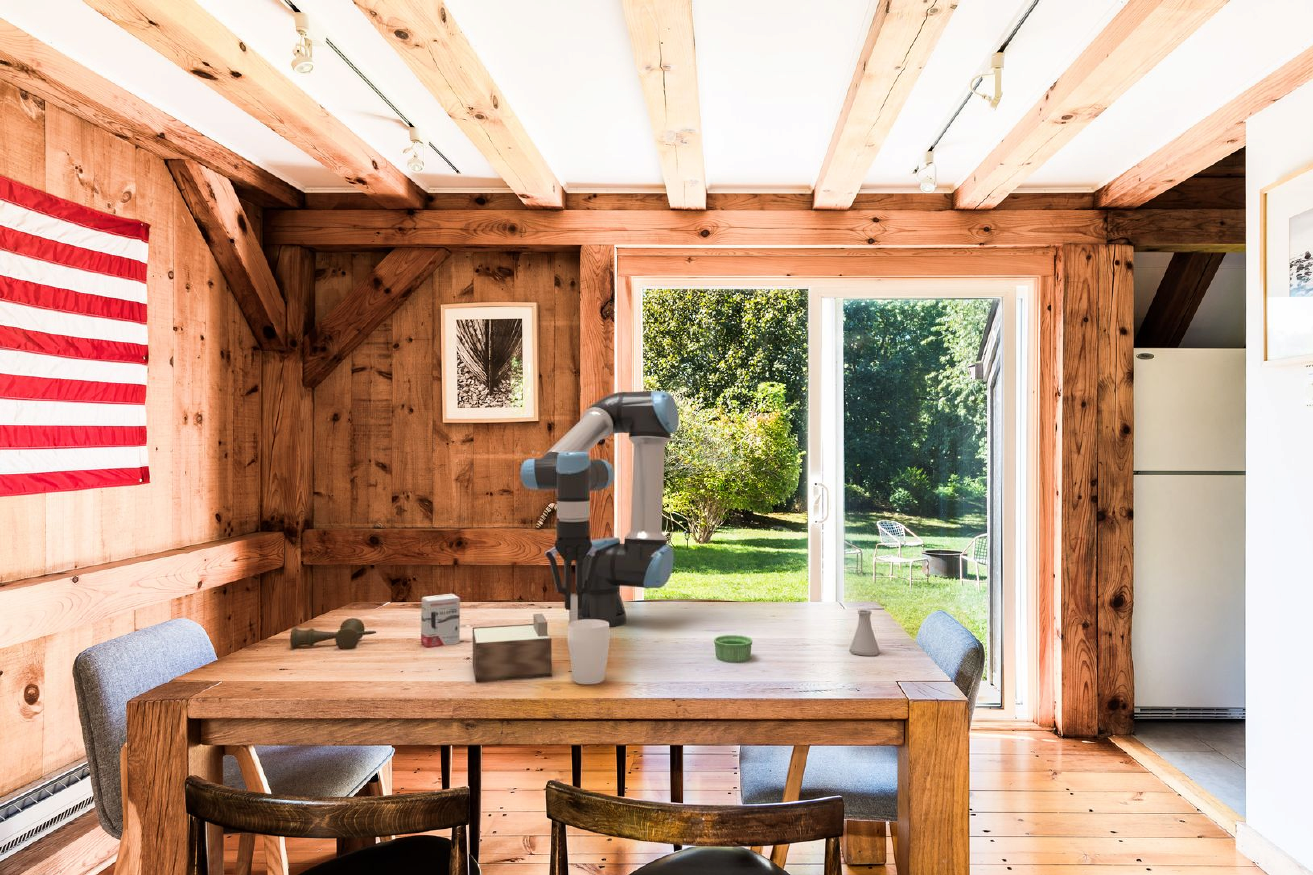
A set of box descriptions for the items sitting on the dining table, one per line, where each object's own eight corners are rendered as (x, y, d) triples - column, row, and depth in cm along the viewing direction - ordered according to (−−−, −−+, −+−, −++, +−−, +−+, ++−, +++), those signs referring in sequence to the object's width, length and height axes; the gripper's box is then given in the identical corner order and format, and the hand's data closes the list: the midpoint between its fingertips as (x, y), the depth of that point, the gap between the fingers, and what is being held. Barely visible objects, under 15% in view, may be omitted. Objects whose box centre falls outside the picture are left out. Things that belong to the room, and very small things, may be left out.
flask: (881, 650, 196) (881, 609, 196) (879, 658, 190) (879, 615, 190) (850, 647, 199) (850, 607, 199) (847, 655, 192) (847, 613, 192)
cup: (567, 674, 176) (567, 619, 176) (609, 673, 177) (609, 618, 177) (566, 687, 167) (566, 629, 167) (610, 686, 168) (610, 628, 168)
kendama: (295, 645, 204) (379, 638, 209) (287, 656, 195) (374, 649, 199) (295, 621, 204) (378, 615, 208) (286, 631, 195) (373, 625, 199)
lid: (542, 628, 189) (542, 611, 189) (550, 641, 176) (550, 624, 176) (473, 632, 185) (473, 615, 185) (476, 646, 172) (476, 628, 172)
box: (542, 658, 190) (542, 623, 190) (551, 676, 175) (551, 638, 175) (472, 663, 185) (472, 627, 185) (475, 682, 171) (475, 643, 171)
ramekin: (727, 665, 184) (727, 646, 184) (706, 656, 192) (706, 637, 192) (760, 660, 188) (760, 641, 188) (738, 651, 196) (738, 633, 196)
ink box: (426, 648, 199) (426, 600, 199) (420, 644, 203) (420, 596, 203) (460, 643, 204) (460, 596, 204) (453, 639, 208) (453, 593, 208)
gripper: (598, 517, 189) (598, 618, 189) (542, 518, 186) (542, 622, 186) (604, 520, 182) (604, 625, 182) (546, 522, 179) (546, 629, 179)
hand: (573, 623), depth 184 cm, fingers closed
